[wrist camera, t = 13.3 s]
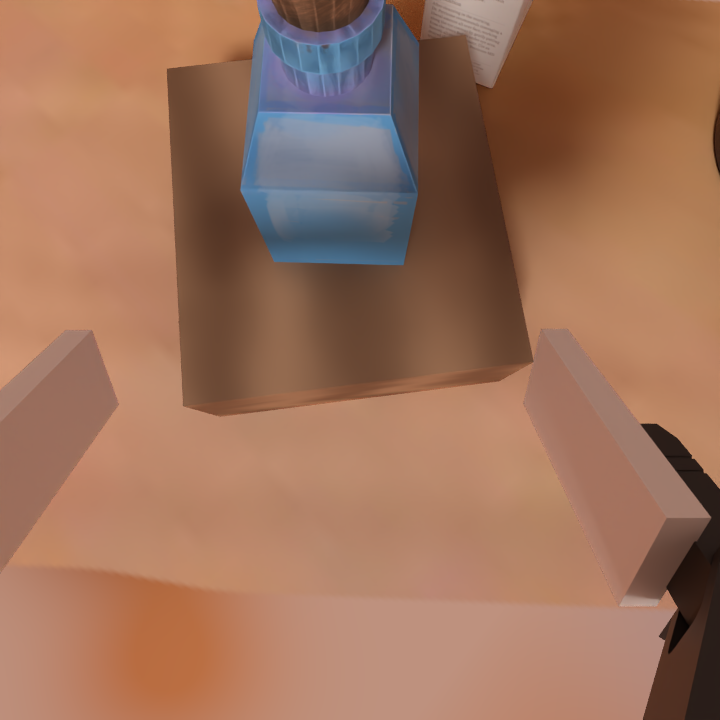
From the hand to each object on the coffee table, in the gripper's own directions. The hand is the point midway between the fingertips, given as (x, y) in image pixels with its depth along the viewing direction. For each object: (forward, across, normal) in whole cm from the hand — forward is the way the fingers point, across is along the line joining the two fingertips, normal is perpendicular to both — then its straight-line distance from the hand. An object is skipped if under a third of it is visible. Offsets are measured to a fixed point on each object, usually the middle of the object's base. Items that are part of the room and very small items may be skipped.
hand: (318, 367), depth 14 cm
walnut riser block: (+16, 0, -2) cm, 16 cm away
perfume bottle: (+12, 0, +2) cm, 12 cm away
